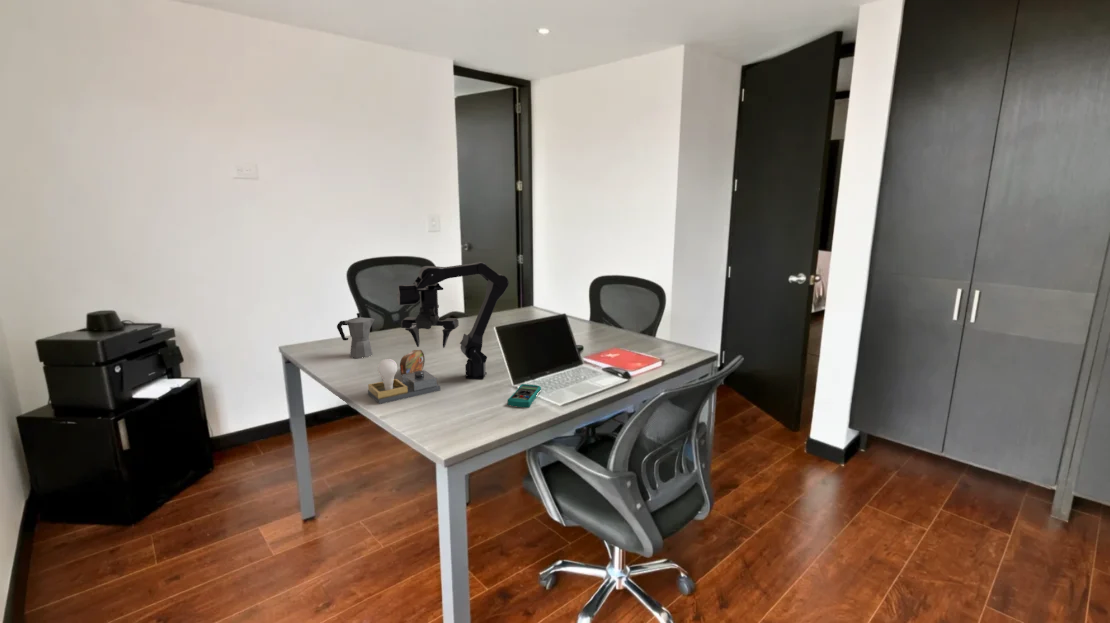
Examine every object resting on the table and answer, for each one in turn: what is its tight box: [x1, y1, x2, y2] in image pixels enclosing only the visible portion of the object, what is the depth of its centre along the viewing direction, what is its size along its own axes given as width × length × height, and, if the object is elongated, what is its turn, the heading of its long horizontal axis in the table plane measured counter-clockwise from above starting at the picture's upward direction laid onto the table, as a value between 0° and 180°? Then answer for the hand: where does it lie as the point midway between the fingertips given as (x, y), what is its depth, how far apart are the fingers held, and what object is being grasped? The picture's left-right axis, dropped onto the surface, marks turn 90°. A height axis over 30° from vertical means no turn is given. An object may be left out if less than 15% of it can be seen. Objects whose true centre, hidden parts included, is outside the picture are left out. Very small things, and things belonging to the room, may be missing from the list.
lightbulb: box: [377, 358, 398, 390], centre depth 166 cm, size 6×6×11 cm
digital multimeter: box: [507, 383, 542, 408], centre depth 166 cm, size 7×15×3 cm, turn 166°
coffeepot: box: [336, 312, 376, 359], centre depth 208 cm, size 15×9×18 cm, turn 129°
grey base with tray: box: [367, 369, 441, 405], centre depth 170 cm, size 21×11×6 cm, turn 128°
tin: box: [399, 349, 426, 376], centre depth 188 cm, size 15×3×8 cm, turn 168°
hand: (431, 347), depth 177 cm, fingers open, 9 cm apart
